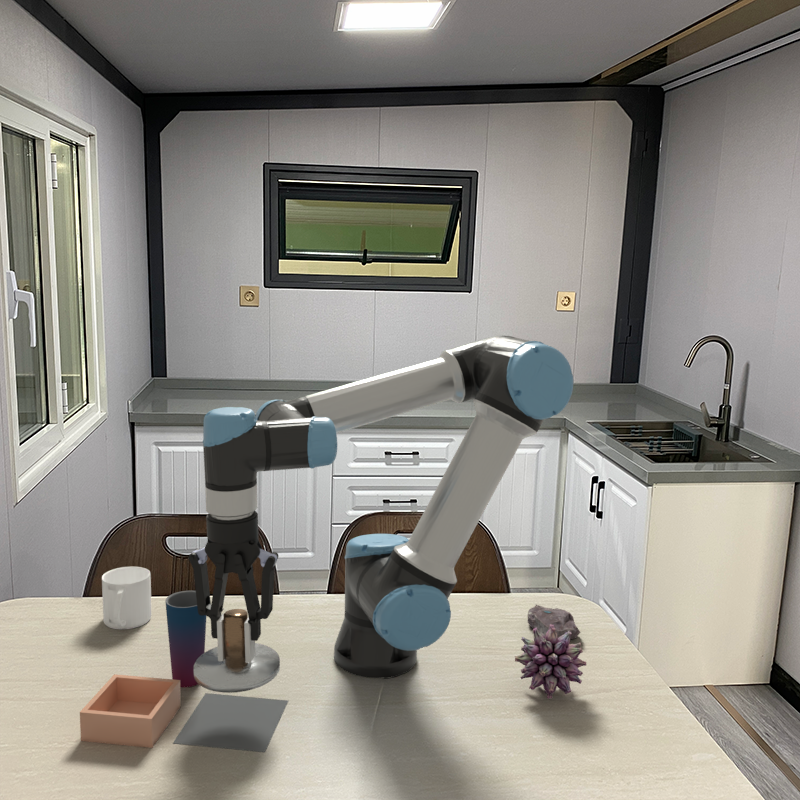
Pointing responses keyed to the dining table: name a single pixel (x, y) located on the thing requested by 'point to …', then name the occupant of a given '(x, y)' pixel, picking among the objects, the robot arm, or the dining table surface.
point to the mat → (232, 722)
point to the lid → (236, 660)
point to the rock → (552, 621)
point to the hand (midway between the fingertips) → (237, 657)
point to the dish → (130, 711)
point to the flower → (551, 661)
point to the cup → (185, 635)
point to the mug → (126, 597)
